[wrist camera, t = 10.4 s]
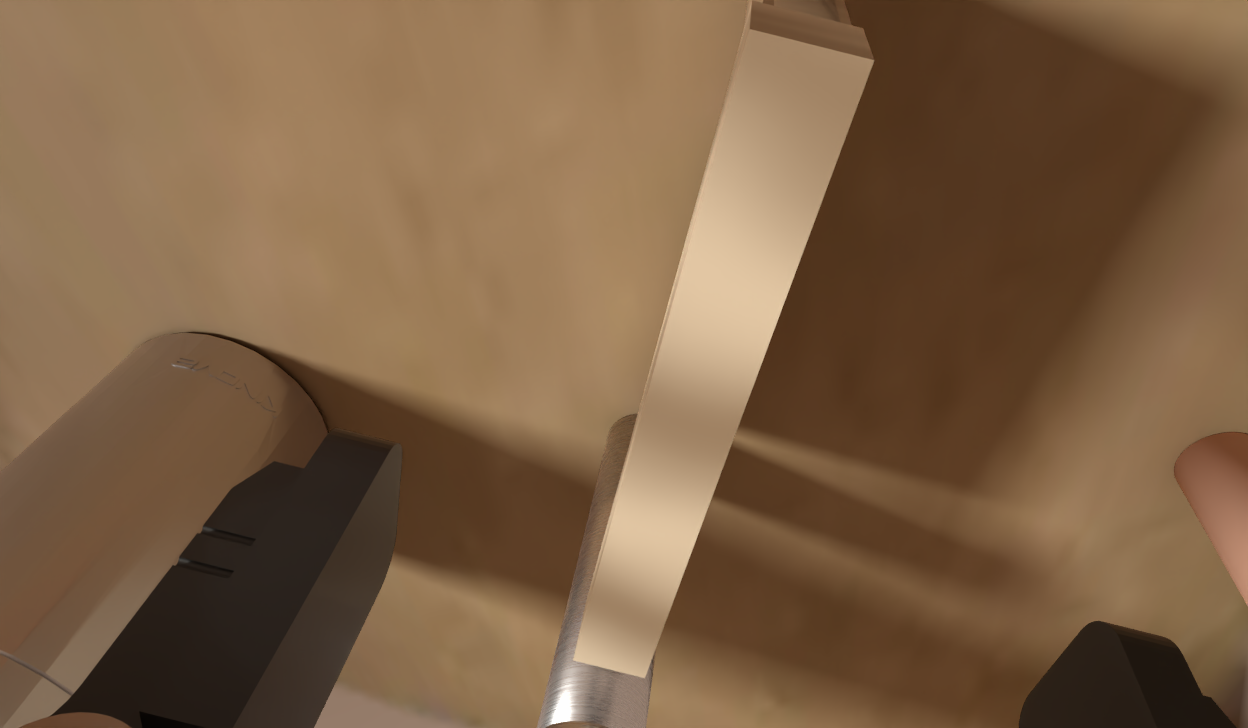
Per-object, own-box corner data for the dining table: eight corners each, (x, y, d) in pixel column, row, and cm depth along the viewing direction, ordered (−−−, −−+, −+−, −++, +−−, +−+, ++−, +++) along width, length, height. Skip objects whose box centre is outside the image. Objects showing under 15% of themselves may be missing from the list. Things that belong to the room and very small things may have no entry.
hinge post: (658, 487, 35) (594, 893, 23) (587, 449, 35) (481, 845, 22) (703, 437, 33) (662, 848, 21) (630, 395, 33) (541, 794, 20)
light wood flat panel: (678, 432, 32) (644, 678, 23) (626, 419, 32) (572, 660, 23) (834, -55, 22) (874, 60, 13) (758, -74, 22) (749, 28, 13)
